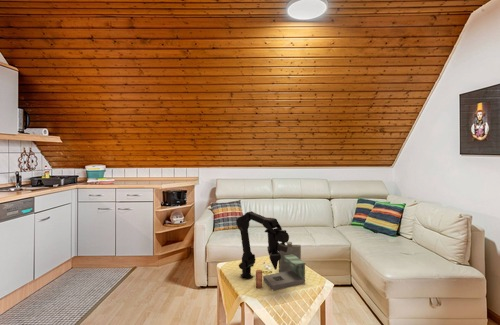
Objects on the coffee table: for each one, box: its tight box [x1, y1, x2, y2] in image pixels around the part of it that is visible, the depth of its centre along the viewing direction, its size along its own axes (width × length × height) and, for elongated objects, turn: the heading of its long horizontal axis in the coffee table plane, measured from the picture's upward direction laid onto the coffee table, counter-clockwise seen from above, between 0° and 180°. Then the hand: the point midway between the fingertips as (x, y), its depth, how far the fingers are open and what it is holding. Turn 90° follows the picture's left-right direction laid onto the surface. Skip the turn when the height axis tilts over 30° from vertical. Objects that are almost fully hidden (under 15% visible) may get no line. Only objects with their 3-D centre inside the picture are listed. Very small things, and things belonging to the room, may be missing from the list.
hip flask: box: [278, 241, 302, 273], centre depth 193 cm, size 16×4×20 cm, turn 105°
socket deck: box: [262, 270, 306, 292], centre depth 178 cm, size 14×22×3 cm, turn 112°
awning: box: [283, 254, 306, 280], centre depth 180 cm, size 15×7×10 cm, turn 22°
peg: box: [255, 269, 263, 290], centre depth 171 cm, size 4×4×10 cm
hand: (274, 266), depth 168 cm, fingers open, 9 cm apart
